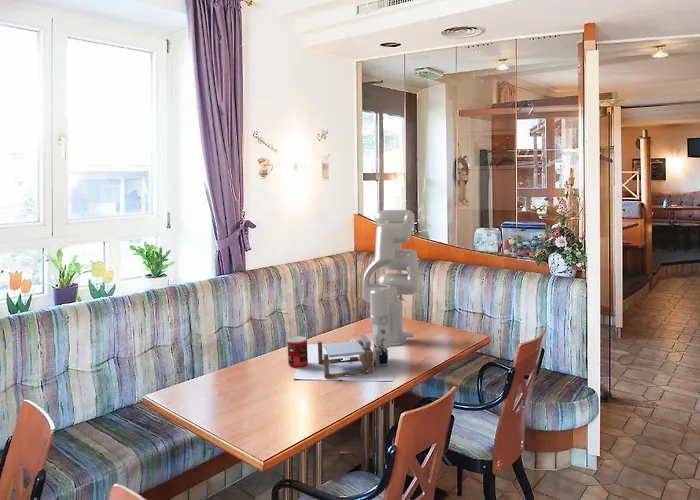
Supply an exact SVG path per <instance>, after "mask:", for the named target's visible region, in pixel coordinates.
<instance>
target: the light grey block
mask: <svg viewBox="0 0 700 500" xmlns="http://www.w3.org/2000/svg"><path fill="white" fill-rule="evenodd" d="M381 350H382V349H381ZM372 351H373V361H374V362H373V364H374V365H375V364H376V365H378V366H384V365H383V364H380V362H379V354H380V350H379V349H378V348H377V347H375V348H374V347H373V348H372ZM387 357H388V358H389V350H388V349H387ZM387 364H388V365H389V362H388V363H387ZM376 365H375V366H376Z"/></svg>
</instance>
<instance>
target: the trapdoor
mask: <svg viewBox="0 0 700 500" xmlns="http://www.w3.org/2000/svg"><path fill="white" fill-rule="evenodd" d="M359 337H360V339H358V340H356V341H355V340H353V341H345V342H344V341H343V342H335V343H324V344H323V348H324V349H325V351H326V354H328V357H329V359H332V358H339V357H340V358H341V357H348V356H349V357H351V356H358V355H360V354H365V351H364V349H363V348H370V349H371V347H372V346H371V345H372V343H371V340H370V338H368V336H367V335H366V334H361V335H360V336H359ZM359 342H362V343H363V344H364V345H365V346H361V345H360V344H359Z"/></svg>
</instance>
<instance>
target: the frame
mask: <svg viewBox="0 0 700 500" xmlns="http://www.w3.org/2000/svg"><path fill="white" fill-rule="evenodd" d="M359 344H360V345H361V346H365V345H364V344H363V343H362V342H359ZM363 349H364V351H365V354H360V355H359V356H349V357H350V360H355V361H360V363H361V362H362V363H361V365H364V366H363V368H364V369H365V368H366V369H365V370H356V371H353V370H352V371H345V372H335V373H330V363H329V362H333V363H338V362H337V361H341V360H343V358H344V357H340V358H339V357H336V358H329V355H328V353H324V354H323V352H324V351H323V342H322V341H317V355H318V358H317V362H318V365H323V367H324V368H323V375H324V379H330V378H338V377H337V376H342V377H346V376H345V375H352V376H357V375H356V374H362V375H368V373H370V374H374V362H373V349H371V348H363ZM359 359H360V360H359ZM367 371H368V372H367Z"/></svg>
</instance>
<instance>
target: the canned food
mask: <svg viewBox="0 0 700 500" xmlns="http://www.w3.org/2000/svg"><path fill="white" fill-rule="evenodd" d="M286 342H287V362H288V366H289V367H291V368H295V369H298V367H300V368H305V367H306V366H307V365H308V363H309V361H308V359H309V358H308V339H307V337H305V336H302V335H300V336H299V335H298V336H290V337H288V338H287V341H286ZM304 366H305V367H304Z"/></svg>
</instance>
